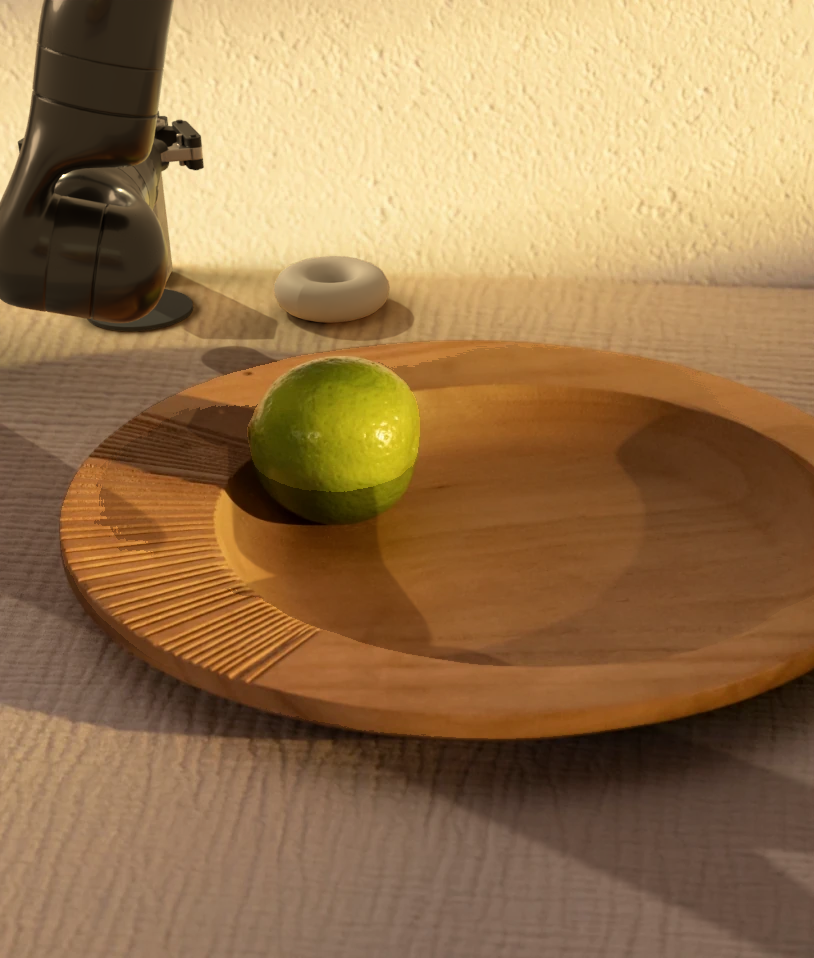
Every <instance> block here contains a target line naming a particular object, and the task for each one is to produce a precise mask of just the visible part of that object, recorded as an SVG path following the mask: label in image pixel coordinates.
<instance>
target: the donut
mask: <svg viewBox="0 0 814 958" xmlns="http://www.w3.org/2000/svg"><path fill="white" fill-rule="evenodd" d="M390 288H391V287H390V282H389V279H388V278H387V276H386V274H385V273H384V271H383V270H382V269H381V268H380V267H379V266H377V265H375V264H374V263H372V262H370V261H367V260H364V259H360V258H358V257H353V256H345V255H324V256H323V255H322V256H316V257H315V256H314V257H309V258H304V259H302V260H299V261H297V262H294V263H291V264H289V265H288V266H286V267H284V268H283V269H282V270H281V271H280V272H279V274H278V276H277V277H276V279H275V282H274V284H273V294H274V297H275V299H276V302H277V304H278V306H279V307H280V308H281V309H282V310H284V311H285V312H287V314H289V315H291V316H293V317H295V318H298V319H302V320H304V321H311V322H315V323H316V322H317V323H334V324H335V323H344V322H345V323H347V322H352V321H357V320H359V319H362V318H365V317H368V316H370V315H372V314H375V313H376V312H377V311H378V310H380V309H381V308H382V307H383V306H384V305H385V303H386V302H387V300H388V297H389V293H390Z"/></svg>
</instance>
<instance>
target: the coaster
mask: <svg viewBox="0 0 814 958" xmlns="http://www.w3.org/2000/svg"><path fill="white" fill-rule="evenodd" d="M193 310H194V304H193V300H192V299H191V298H190V297H189V296H188V295H187V294H185V293H182V292H181V291H178V290H173V289H169V288H165V289H164V291H163V294H162V296H161V298H160V300H159V302H158V303H157V305H156V306H155V307H154V309H153V310H152V311H150V312H149V313H148V314H147V315H146V316H144V317H142V318H140V319H138V320H135V321H132V322H128V323H110V322H104V321H98V320H93V319H92V318H91V319H87V321H88V322H89V323H91V324H92V325H93V326H95V327H98V328H101V329H105V330H110V331H117V332H145V331H152V330H157V329H161V328H166V327H170V326H173V325H175V324H178V323H180V322H183V321H184V320H185V319H187V318H189V316H190V315H191V314H192V312H193Z"/></svg>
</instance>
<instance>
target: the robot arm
mask: <svg viewBox="0 0 814 958" xmlns="http://www.w3.org/2000/svg"><path fill="white" fill-rule="evenodd" d="M174 3H175V0H43V2H42V6H41V10H40V16H39V22H38V29H37V30H38V31H37V39H36V42H37V43H36V48H35V57H34V68H33V78H32V89H31V90H32V92H31V98H30V105H29V113H28V117H27V123H26V128H25V132H24V135H23V137H22V138H21V139H19V140H18V141H17V146H18V157H17V160H16V162H15V165H14V168H13V171H12V173H11V176H10V178H9V181H8V183H7V185H6V188H5V190H4V192H3V194H2V197H1V199H0V301H2V302H3V303H5V304H7V305H10V306H12V307H15V308H20V309H24V310H32V311H38V312H47V313H51V314H56V315H57V314H58V315H62V316H63V315H64V316H69V317H75V318H80V319H87V320H88V319H91V318H92V319H93V320H98V321H104V322H110V323H128V322H132V321H135V320H138V319H140V318H142V317H144V316H146V315H147V314H148V313H149V312H150V311H152V310H153V309H154V307H155V306H156V305H157V303H158V302H159V300H160V298H161V296H162V294H163V291H164V289H166V285H167V282H168V280H167V274H168V252H167V246H166V240H165V237H164V233H163V230H162V227H161V225H160V222H159V220H158V218H157V217H156V215H155V213H154V212H153V208H154V204H155V203H156V201H157V198H158V184H159V180H160V174H161V172H165V171H166V170H167V169H168V168H169V166H170V163H173V162H174V163H175V162H178V165H179V166H180V167H186V168H187V169H188V170H192V171H200V170H203V169H204V168H205V165H204V153H203V144H202V135H201V134H200V133H199V132H198V131H197V130H196V129H195V128H194V126H192V125H191V124H190V123H189V121H187V120H183V119H176V120H173V121H172V122H171V125H169V119H168V117H167V116H166V115H160V110H159V106H160V100H161V92H162V85H163V79H164V77H163V76H164V71H165V70H164V68H165V64H166V63H165V62H166V55H167V48H168V47H167V46H168V42H169V41H168V40H169V32H170V26H171V20H172V16H173V15H172V14H173V9H174ZM166 281H167V282H166Z"/></svg>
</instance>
